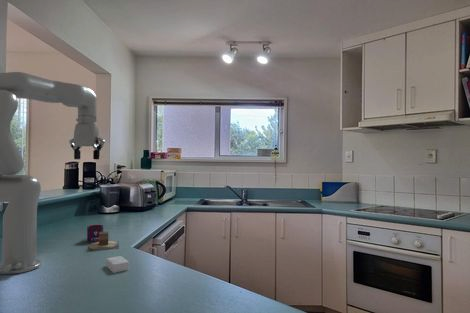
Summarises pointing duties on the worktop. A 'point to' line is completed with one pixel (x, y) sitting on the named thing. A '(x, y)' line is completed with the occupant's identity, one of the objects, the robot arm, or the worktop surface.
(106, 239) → the lid
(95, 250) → the mat
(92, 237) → the mug
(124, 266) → the soap
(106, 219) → the worktop surface
